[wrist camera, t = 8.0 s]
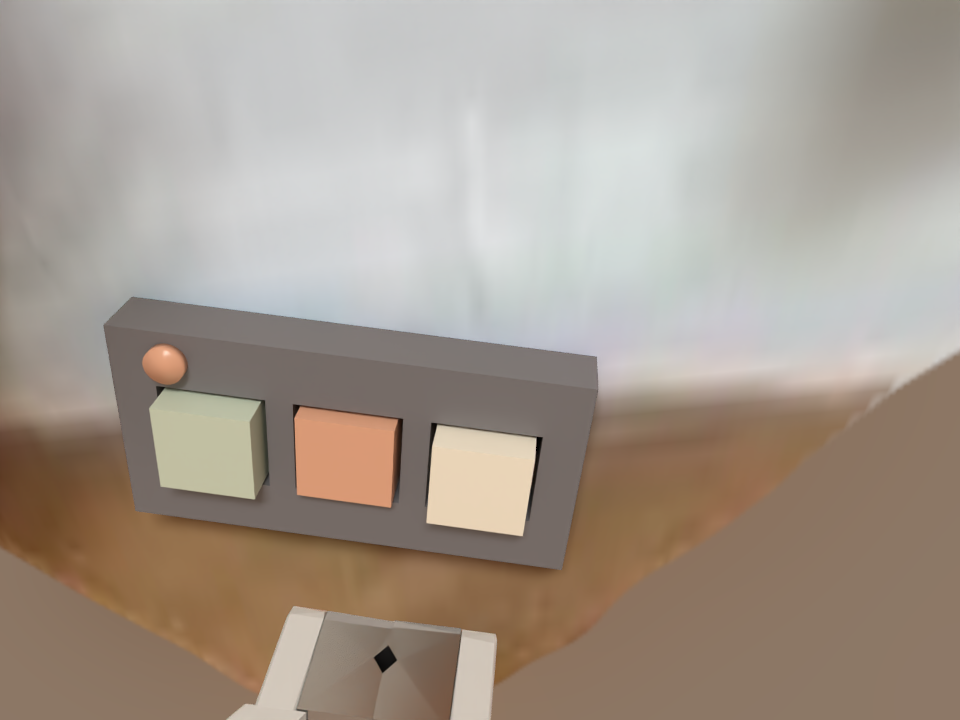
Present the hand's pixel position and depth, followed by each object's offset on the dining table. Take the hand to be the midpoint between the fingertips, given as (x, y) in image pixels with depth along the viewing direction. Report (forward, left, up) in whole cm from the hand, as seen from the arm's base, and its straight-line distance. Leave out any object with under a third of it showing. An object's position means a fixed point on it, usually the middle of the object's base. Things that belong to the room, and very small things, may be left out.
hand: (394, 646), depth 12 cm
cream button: (+1, -17, -26) cm, 31 cm away
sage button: (-13, -17, -26) cm, 34 cm away
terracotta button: (-6, -17, -27) cm, 33 cm away
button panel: (-6, -17, -28) cm, 33 cm away
